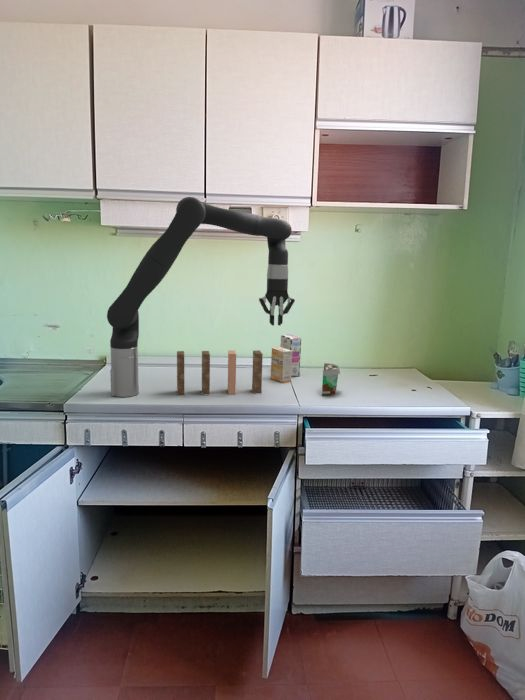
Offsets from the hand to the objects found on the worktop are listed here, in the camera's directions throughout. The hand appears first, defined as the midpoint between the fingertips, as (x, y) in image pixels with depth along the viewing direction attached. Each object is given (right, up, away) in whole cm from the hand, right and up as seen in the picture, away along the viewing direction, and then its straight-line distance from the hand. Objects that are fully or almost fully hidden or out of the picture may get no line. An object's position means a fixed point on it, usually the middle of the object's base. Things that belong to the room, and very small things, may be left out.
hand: (275, 325), depth 180 cm
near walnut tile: (-35, -25, -1) cm, 43 cm away
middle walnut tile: (-26, -25, 0) cm, 36 cm away
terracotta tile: (-16, -25, +2) cm, 30 cm away
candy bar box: (+7, -20, +31) cm, 38 cm away
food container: (+21, -25, +5) cm, 33 cm away
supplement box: (+2, -22, +21) cm, 30 cm away
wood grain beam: (-7, -25, +4) cm, 26 cm away
